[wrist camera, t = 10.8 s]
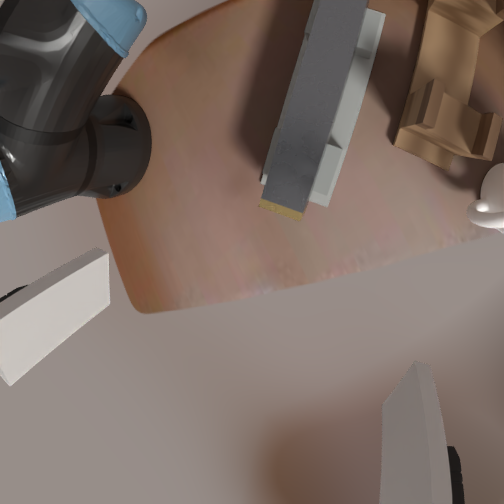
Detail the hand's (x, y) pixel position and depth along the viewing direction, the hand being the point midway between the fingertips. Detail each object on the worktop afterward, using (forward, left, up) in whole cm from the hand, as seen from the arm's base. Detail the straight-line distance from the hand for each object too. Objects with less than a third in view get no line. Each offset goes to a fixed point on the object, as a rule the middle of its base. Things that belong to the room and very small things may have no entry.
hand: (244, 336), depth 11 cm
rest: (-2, +13, -25) cm, 28 cm away
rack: (+10, +22, -25) cm, 34 cm away
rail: (-2, +13, -21) cm, 25 cm away
